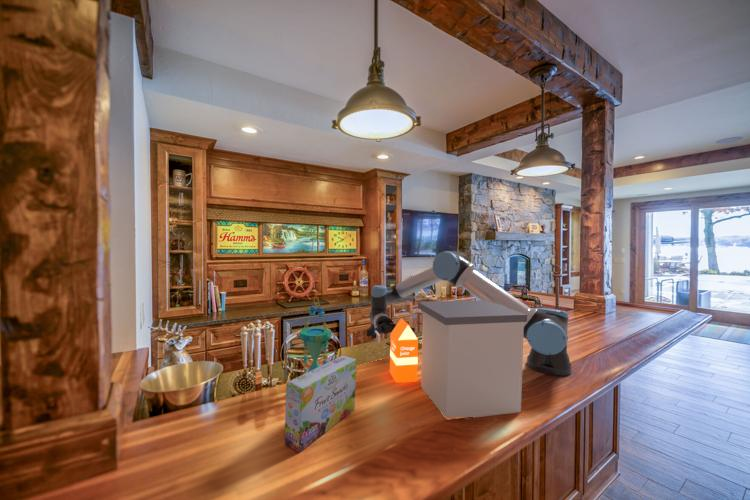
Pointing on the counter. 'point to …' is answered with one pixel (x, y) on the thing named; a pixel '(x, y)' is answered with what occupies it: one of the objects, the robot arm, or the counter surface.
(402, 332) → the orange juice
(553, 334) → the robot arm
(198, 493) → the counter surface
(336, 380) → the snack box
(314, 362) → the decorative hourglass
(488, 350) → the under-counter cabinet
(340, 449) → the counter surface
